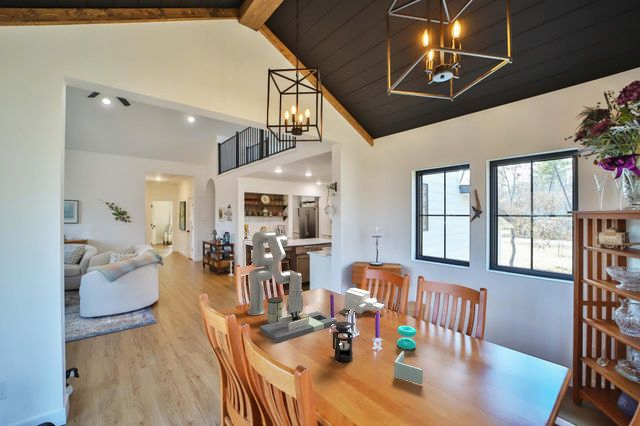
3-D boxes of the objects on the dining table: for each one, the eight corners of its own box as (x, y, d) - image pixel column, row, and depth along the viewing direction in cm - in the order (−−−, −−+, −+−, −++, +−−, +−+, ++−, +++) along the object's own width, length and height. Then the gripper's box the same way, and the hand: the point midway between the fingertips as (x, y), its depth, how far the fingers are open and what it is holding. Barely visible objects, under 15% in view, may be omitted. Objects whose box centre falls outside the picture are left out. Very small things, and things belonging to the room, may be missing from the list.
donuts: (396, 324, 162) (415, 325, 160) (396, 341, 162) (414, 343, 160) (398, 331, 153) (417, 332, 151) (397, 349, 153) (417, 351, 151)
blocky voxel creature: (374, 323, 194) (339, 311, 210) (387, 313, 215) (355, 303, 231) (376, 301, 194) (341, 291, 210) (389, 293, 214) (356, 285, 230)
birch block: (295, 322, 181) (295, 314, 181) (303, 320, 184) (303, 312, 184) (301, 325, 176) (301, 317, 176) (309, 323, 180) (309, 315, 180)
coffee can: (269, 317, 197) (269, 296, 197) (284, 318, 196) (284, 297, 196) (265, 322, 186) (265, 301, 186) (280, 323, 185) (280, 302, 185)
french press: (357, 358, 142) (358, 312, 142) (346, 366, 135) (347, 317, 135) (339, 350, 150) (339, 307, 150) (327, 357, 143) (328, 311, 143)
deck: (260, 331, 173) (260, 319, 173) (317, 315, 201) (317, 305, 201) (276, 343, 158) (276, 330, 158) (336, 324, 186) (336, 313, 186)
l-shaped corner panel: (422, 388, 120) (422, 370, 120) (394, 378, 126) (394, 361, 126) (428, 374, 130) (428, 358, 130) (401, 366, 136) (402, 351, 136)
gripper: (301, 289, 185) (301, 318, 184) (281, 293, 175) (281, 323, 175) (308, 292, 179) (308, 321, 179) (288, 296, 169) (287, 327, 169)
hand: (294, 322), depth 177 cm, fingers closed
